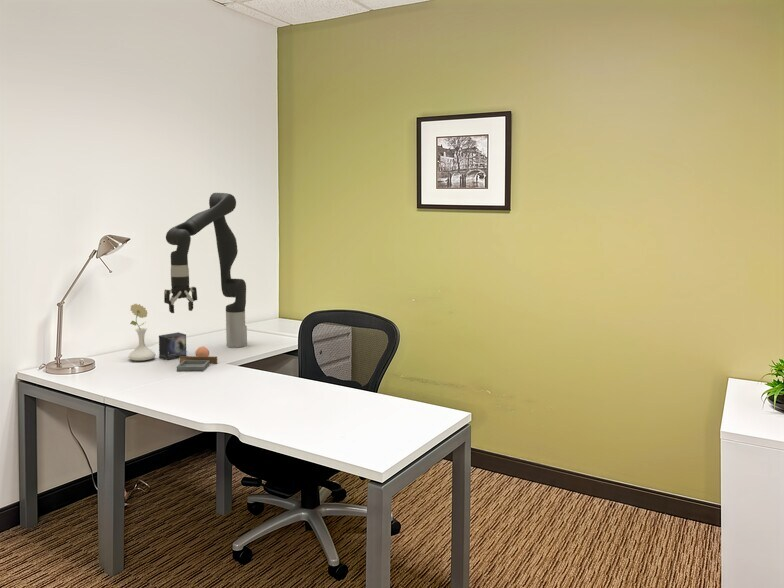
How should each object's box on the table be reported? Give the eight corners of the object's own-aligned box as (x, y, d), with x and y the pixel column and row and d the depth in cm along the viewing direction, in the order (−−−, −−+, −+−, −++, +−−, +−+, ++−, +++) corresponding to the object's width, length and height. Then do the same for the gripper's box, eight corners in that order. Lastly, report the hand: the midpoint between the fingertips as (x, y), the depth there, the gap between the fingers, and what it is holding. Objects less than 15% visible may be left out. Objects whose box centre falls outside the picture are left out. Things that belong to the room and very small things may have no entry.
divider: (180, 363, 280) (180, 356, 279) (217, 363, 280) (217, 356, 280) (179, 363, 279) (179, 357, 278) (216, 363, 279) (216, 357, 279)
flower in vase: (161, 359, 287) (159, 303, 283) (138, 363, 278) (135, 306, 274) (144, 354, 294) (142, 301, 291) (121, 359, 285) (118, 304, 282)
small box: (167, 360, 284) (166, 337, 283) (158, 358, 288) (157, 335, 287) (187, 356, 293) (186, 333, 291) (178, 354, 297) (178, 332, 295)
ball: (202, 357, 290) (202, 344, 290) (212, 359, 288) (212, 346, 287) (192, 360, 285) (192, 347, 284) (202, 361, 282) (202, 348, 281)
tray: (184, 364, 277) (183, 360, 276) (209, 364, 277) (209, 360, 277) (176, 371, 266) (176, 366, 266) (203, 371, 266) (203, 366, 266)
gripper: (168, 277, 270) (170, 315, 273) (199, 274, 280) (200, 310, 283) (160, 275, 275) (162, 312, 278) (190, 272, 285) (192, 308, 288)
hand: (181, 311), depth 280 cm, fingers open, 8 cm apart
